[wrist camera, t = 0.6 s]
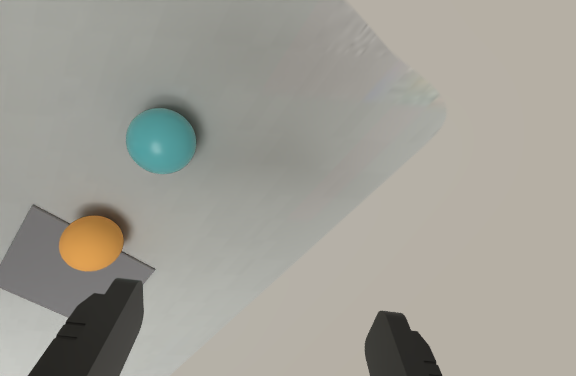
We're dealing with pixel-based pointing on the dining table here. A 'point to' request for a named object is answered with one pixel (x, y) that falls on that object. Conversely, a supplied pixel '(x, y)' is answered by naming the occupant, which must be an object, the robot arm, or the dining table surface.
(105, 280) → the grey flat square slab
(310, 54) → the dining table surface
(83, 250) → the orange ball
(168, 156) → the teal cue ball
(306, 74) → the dining table surface
